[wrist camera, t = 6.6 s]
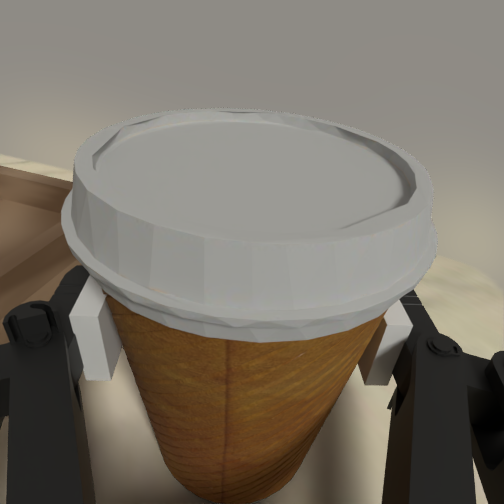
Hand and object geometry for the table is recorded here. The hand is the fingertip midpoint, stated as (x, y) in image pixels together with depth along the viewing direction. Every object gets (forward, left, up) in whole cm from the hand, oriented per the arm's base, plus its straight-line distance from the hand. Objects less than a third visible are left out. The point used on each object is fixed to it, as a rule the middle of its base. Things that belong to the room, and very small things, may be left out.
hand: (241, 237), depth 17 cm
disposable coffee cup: (+2, -4, -7) cm, 8 cm away
